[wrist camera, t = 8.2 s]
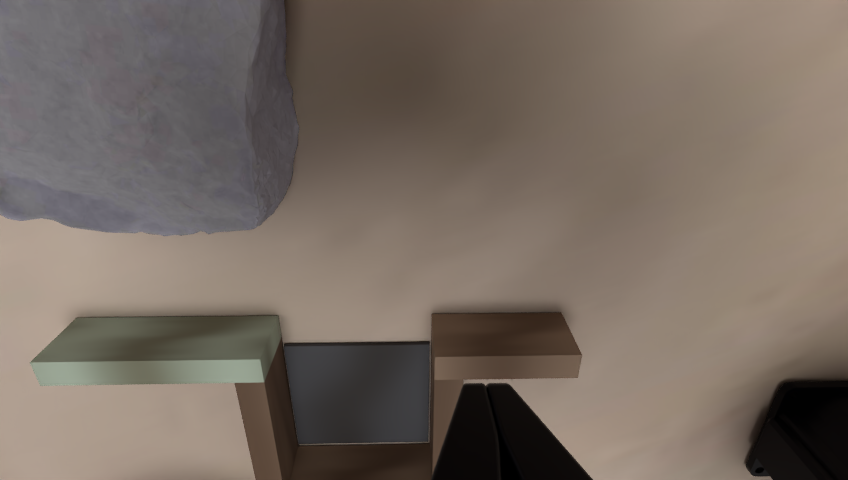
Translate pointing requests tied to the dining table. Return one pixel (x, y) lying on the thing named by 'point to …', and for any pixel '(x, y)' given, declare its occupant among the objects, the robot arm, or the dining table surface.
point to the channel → (319, 381)
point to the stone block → (145, 114)
